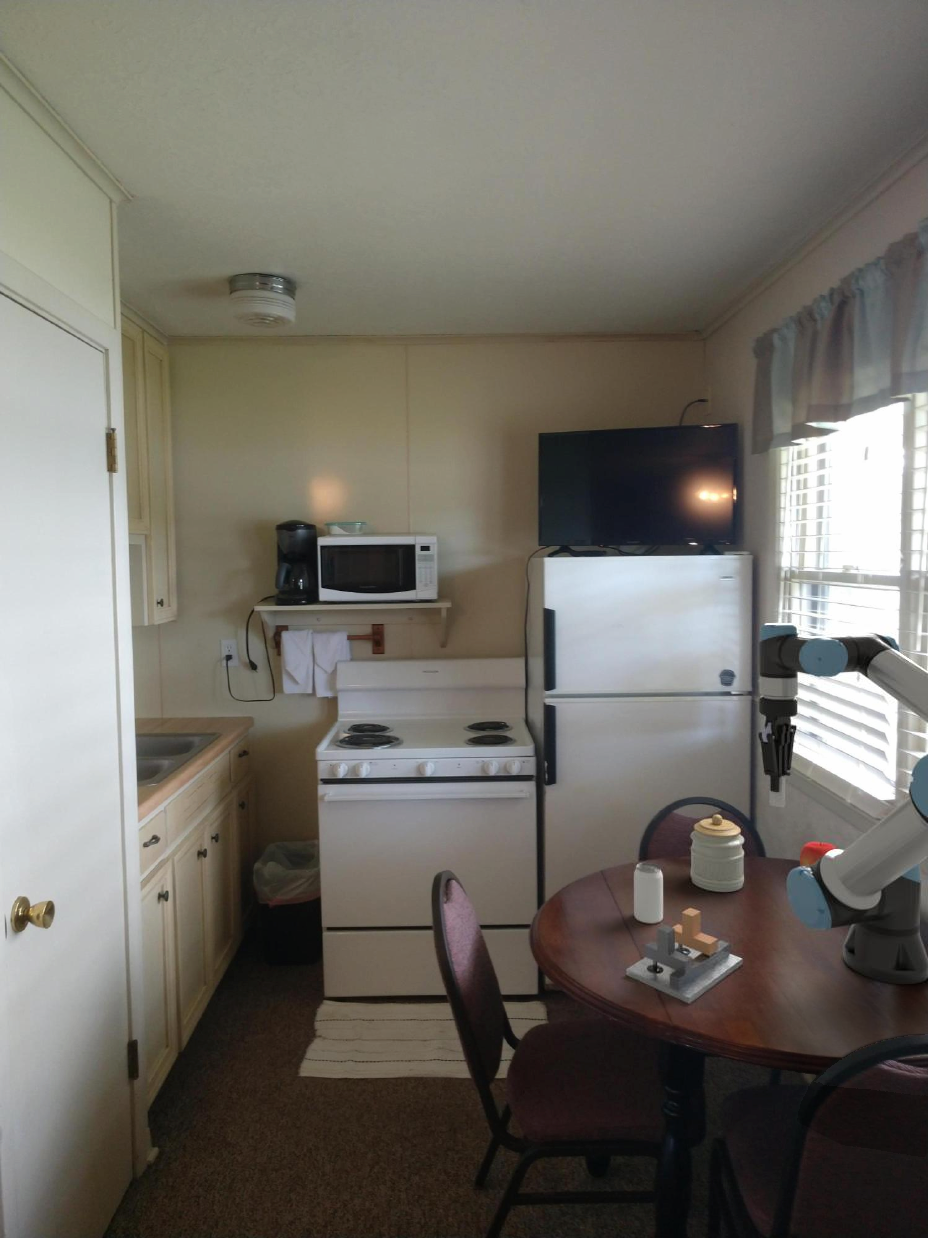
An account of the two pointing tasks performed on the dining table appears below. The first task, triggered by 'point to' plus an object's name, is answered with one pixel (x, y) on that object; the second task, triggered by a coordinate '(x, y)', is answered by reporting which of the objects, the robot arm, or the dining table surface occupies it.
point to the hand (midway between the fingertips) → (777, 805)
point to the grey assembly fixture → (682, 967)
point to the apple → (814, 852)
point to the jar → (717, 855)
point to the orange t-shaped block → (694, 934)
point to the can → (648, 893)
